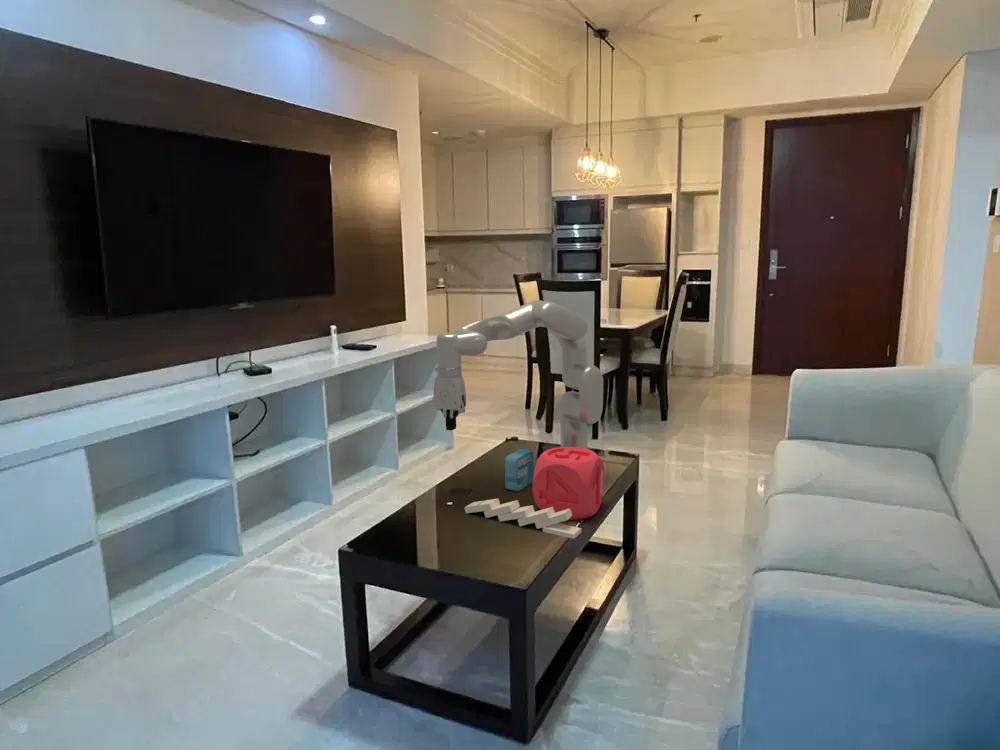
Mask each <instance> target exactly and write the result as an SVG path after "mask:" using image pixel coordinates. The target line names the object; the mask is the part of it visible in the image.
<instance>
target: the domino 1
mask: <svg viewBox="0 0 1000 750" xmlns="http://www.w3.org/2000/svg"><path fill="white" fill-rule="evenodd" d="M500 502H501V501H500V499H499V498H493V499H485V500H479V501H473V502H471V503H469V504H467V505H466V506H465V507H464V511H465V514H470V513H478V512H479V513H480V512H484V511H487V510H492V509H494V508H495V507H497V506H499V505H500V504H501V503H500Z"/></svg>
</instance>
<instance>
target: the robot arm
mask: <svg viewBox="0 0 1000 750" xmlns="http://www.w3.org/2000/svg"><path fill="white" fill-rule="evenodd" d="M588 326H589V325H588V322H587V319H585V318H584V316H582V315H581V314H579V313H576V312H574V311H572V310H570V309H568V308H566V307H564V306H562V305H560V304H557V303H556V302H553V301H548V300H532V301H529V302H527V303H525V304H523V305H520V306H518V307H515V308H513V309H511V310H509V311H507V312H503V313H501V314H498V315H494V316H492V317H487V318H485V319H484V318H483V319H481V320H477V321H475V322H472V323H470V324H468V325H465V326H462V327H461V328H459V329H457V330H456V331H454V332H443V333H439V334H437V336H436V361H437V363H436V365H437V367H436V368H435V372H437V375H436V376H435V378H434V384H433V394H432V395H433V397H432V398H433V399H432V400H433V407H435V408H436V410H437V411H440V412H441V413H442V415H443V417H444V419H445V430H446V431H450V432H451V431H453V430H454V431H455V430H456V429H457V418H458V416H459V414H465V413H466V406H467V391H466V385H465V379H464V377H463V375H462V373H463V371H462V356H473V357H474V356H480V355H481V354H483V353H485V351H486V350H487V348H488V342H490V341H503V340H510V339H514V338H516V337H518V336H520V335H522V334H523V335H524V334H525V333H527V332H529V331H532V330H534V329H536V328H539V327H543V328H547V330H548V332H549V333H550V334H551V335H552V336H553V337H555V338H556V339H557V341H558V342H559V344H560V346H561V352H562V353H561V354H562V356H561V358H562V361H561V363H562V368H561V369H562V370H561V372H562V373H561V375H562V383H563V384H564V385H565V386H566V387H568V388H570V389H573V390H577V391H578V392H577V391H573V390H572V391H566V392H564V393H563V394H562V395H561V396H560V397H559V399H558V403H557V410H558V411H557V412H558V417H559V423H560V424H559V425H560V447H579V448H585V449H588V436H589V435H588V434H589V433H588V425H593V424H596V423H597V422H598V421H599V420H600V419H601V416H602V414H603V409H604V408H603V407H604V377H603V374H602V371H601V370H600V369H599V367H598V366H596V365H593V364H590V363H589V364H588V351H587V350H588V349H587V343H586V339H585V336H586V334H587V333H588Z"/></svg>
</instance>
